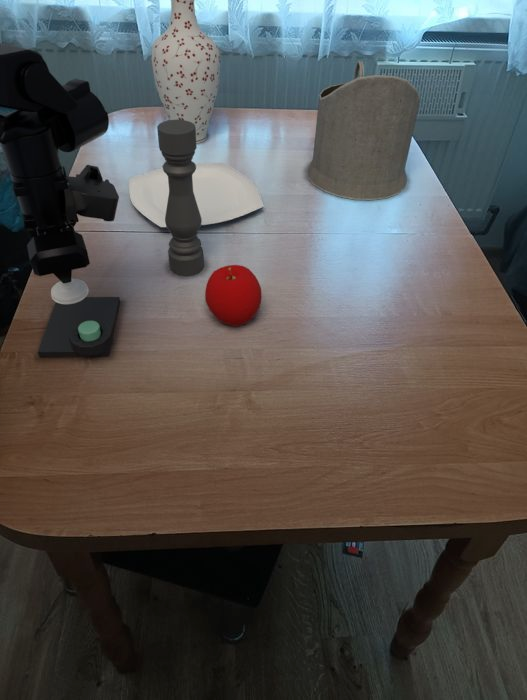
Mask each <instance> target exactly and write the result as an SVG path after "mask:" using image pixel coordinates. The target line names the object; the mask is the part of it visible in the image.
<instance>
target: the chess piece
mask: <svg viewBox="0 0 527 700" xmlns="http://www.w3.org/2000/svg"><path fill="white" fill-rule="evenodd" d="M50 289H51V290H50V297H51V300H53V302H54V303H55V302H57V303H60V304H74V303H77V302H79V301H81V300H83V299H84V298H85V297H88V295H89V291H90V290H89V288H88V285H87V283H86V282H84V281H83V280H81V279H78V278H73V277H72V279H71V282H70V283H62V282H61V281H60V280H59V281H57V282H56V283H55V284H53V286H52V287H51V288H50Z"/></svg>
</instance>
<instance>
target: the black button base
mask: <svg viewBox="0 0 527 700" xmlns="http://www.w3.org/2000/svg"><path fill="white" fill-rule="evenodd" d="M120 306H121V297H120V296H86V297H85V298H84V299H83V300H81V301H79V302H77V303H74V304H60V303H57V302H55V301H54V306H53V308H52V311H51V314H50V317H49V319H48V322H47V325H46V327H45V330H44V332H43V333H44V334H43V336H42V339H41V342H40V344H39V348H38V350H37V354H38V357H39V358H41V359H43V358H108V357H110V352H111V347H112V345H113V340H114V335H115V334H114V333H115V329H116V324H117V320H118V315H119V311H120ZM85 321H95V322H97V323H98V324H99V326H100V331H101V335H100V337H99V338H98V339H96V340H93V341H83V340H82V339H81V338H80V335H79V331H78V327H79V325H80V324H81V323H83V322H85Z"/></svg>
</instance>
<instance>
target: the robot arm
mask: <svg viewBox="0 0 527 700" xmlns="http://www.w3.org/2000/svg"><path fill="white" fill-rule="evenodd" d="M0 108H5V109H10V110H13V111H11V112H8V113H5V114H0V146H1V150H2V153H3V156H4V160H5V162H6V165H7V168H8V172H9V175H10V179H11V183H12V189H13V193H14V195H15V197H16V198H17V201H18V204H19V208H20V210H21V214H22V220H23V223H24V227H25V229H26V231H27V234H29V235H30V237H31V239H30V240H29V242H28V243H27V245H26V247H27V252H28V259H29V263H30V265H31V268H32V272H33V274H34V275H35V276H38V277H43V276H47V275H54V277H56V278H57V279H58V280H59V282H60V281H61V282H62V283H70V282H71V279H72V278H73V276H72V273H73V270H79V269H84V268H87V267H88V266H89V265H90V264H91V262H90V258H89V253H88V249H87V245H86V243H85V240H84V236H83V234H81V233H79V232H78V231H76V230H75V226H76V224H77V223H79V217H78V216H80V217H83V218H91V219H98V220H103V221H104V222H108V223H109V222H113V221H115V218H116V215H117V214H116V213H117V210H118V209H117V207H118V203H119V199H120V196H119V194H118V191H117V189H116V187H115V185H114V184H113V183H112V182H110V180H109V179H107V178H105V179H104V178H103V177H102V173H101V170H100V169H99V167H98V166H96V165H90V164H87V165H85V166H84V167H83V169H82V170H81V171H80V173H76V174H75V176H70V175H67V171H66V168H65V166H64V165H63V164H62V161H61V157H60V152H64V153H71V152H73V151H77V150H78V149H79V148H82V147H83V146H85V145H87V144H89V143H91V142H93V141H94V140H96V139H98V138H100V137H102V136H104V135H106V133H107V132H108V130H109V127H110V118H109V114H108V112H107V111H106V108H105V106H104V104H103V103H102V101H101V100H100V99H99V98H98V96H97V95H95V94H94V92H92V91H91V85H90V82H89V81H88V80H84V79H79V78H73V79H71V80H68V81H67V82H66V83H65V84H63V85H62V84H61V82H59V81H58V79H56V77H55V76H54V75H53V74H52V72H50V69H49V67H48V65H47V62H46V61H45V60H44V57H43V55H42V54H41V53H40V52H38V51H36V50H33V49H28V48H24V47H21V46H15V45H11V44H6V43H1V42H0ZM59 151H60V152H59ZM103 179H104V180H103Z"/></svg>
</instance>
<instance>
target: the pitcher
mask: <svg viewBox="0 0 527 700" xmlns="http://www.w3.org/2000/svg"><path fill="white" fill-rule="evenodd" d="M420 104H421V97H420V95H419V92H418V90H417V88H416V87H415V86H414V85H413V84H412V83H411V82H410V81H409V80H408V79H406V78H402V77H399V76H394V75H379V74H375V75H374V74H373V75H367V76H365V65H364V61H363V60H358V61H357V62H356V65H355V69H354V74H353V79H352V80H351V81H348V82H346V83H339V84H335V85H330V86H327V87H326V88H324V89H322V91H320V93H319V95H318V104H317V115H316V125H315V132H314V133H315V134H314V144H313V152H312V160H311V162H310V164H309V165H308V167H307V170H306V174H307V175H306V176H307V179H308V180H309V181H310V183H312V185H313V186H314V187H316V188H318V189H319V190H321V191H323V192H324V193H328V194H330V195H333V196H335V197H338V198H343V199H350V200H354V201H355V200H357V201H376V200H383V199H388V198H391V197H394V196H397V195H399V194H400V193H401V192H403V191H404V190H405V189H406V187H407V184H408V178H407V173H406V166H407V161H408V157H409V152H410V148H411V144H412V139H413V136H414V135H413V134H414V131H415V130H414V129H415V125H416V123H417V122H416V121H417V116H418V112H419V109H420Z"/></svg>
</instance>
